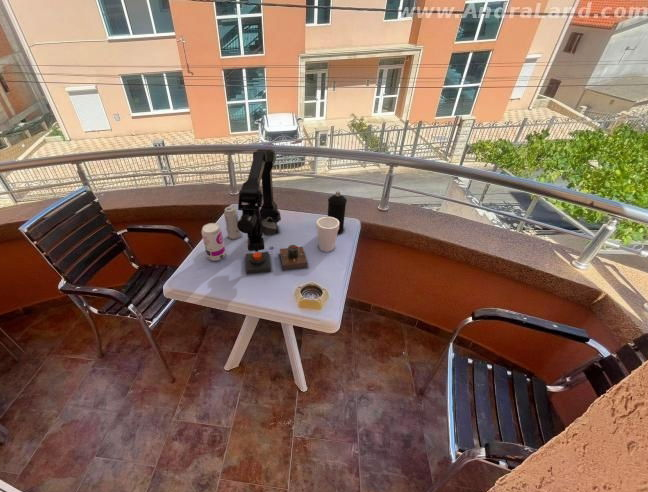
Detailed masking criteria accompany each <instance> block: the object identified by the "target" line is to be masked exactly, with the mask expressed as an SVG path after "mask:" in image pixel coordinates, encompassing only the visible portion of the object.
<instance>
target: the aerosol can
mask: <svg viewBox="0 0 648 492" xmlns="http://www.w3.org/2000/svg"><path fill="white" fill-rule="evenodd" d="M347 200H348V199H347V198H346V197H345V196H344V195H342V194H341V190H336V191H335V194H333V195H331V196H330V197H329V198H328V199H327V202H328V203H327V207H328V208H327V217H334V218H336V219H338V221H339V230H338V233H337V235H340V234H342V233H344V231H345V229H344V227H345V226H344V225H345V215H346V207H347Z"/></svg>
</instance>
